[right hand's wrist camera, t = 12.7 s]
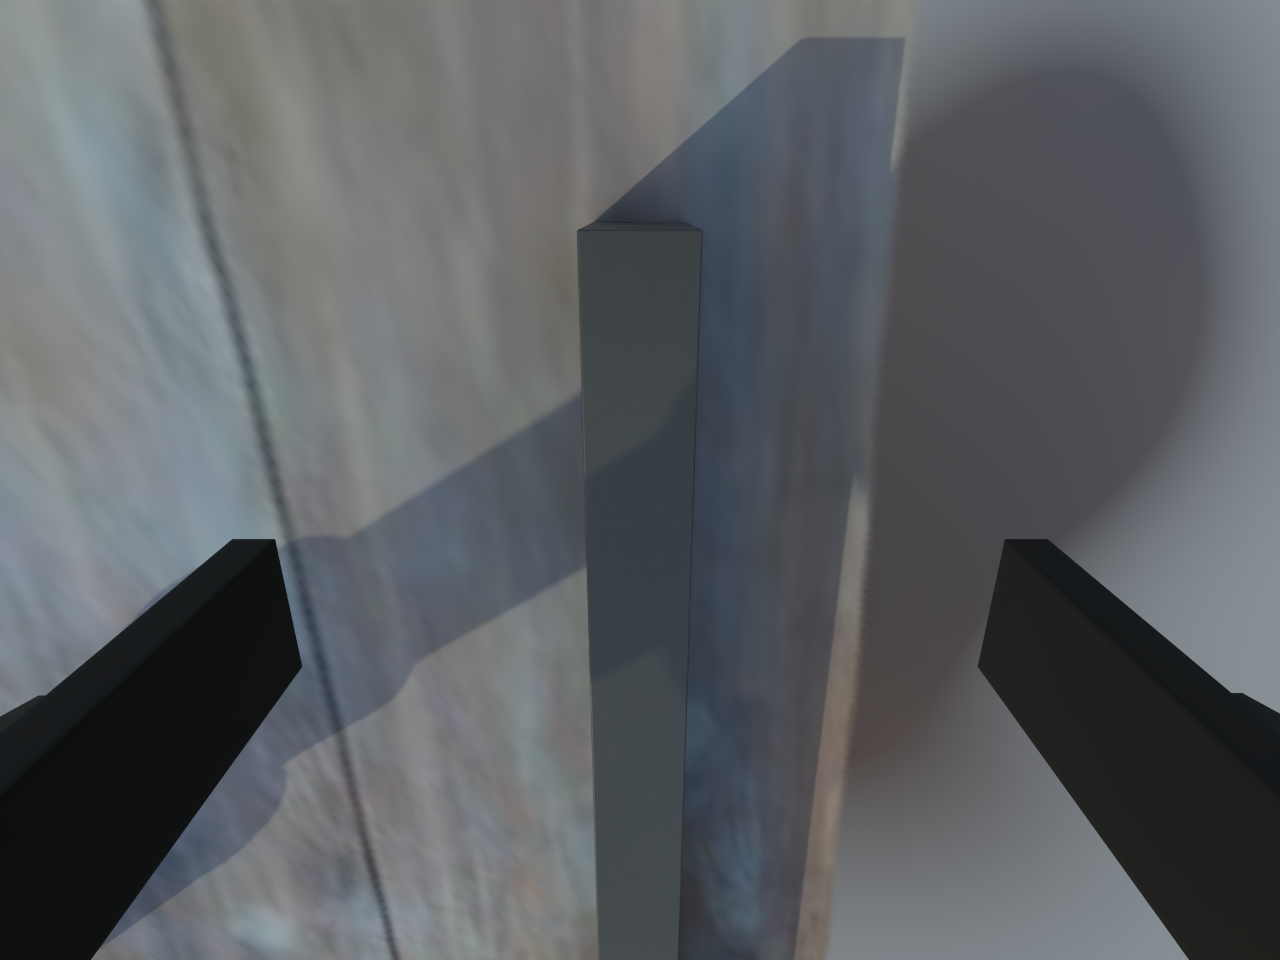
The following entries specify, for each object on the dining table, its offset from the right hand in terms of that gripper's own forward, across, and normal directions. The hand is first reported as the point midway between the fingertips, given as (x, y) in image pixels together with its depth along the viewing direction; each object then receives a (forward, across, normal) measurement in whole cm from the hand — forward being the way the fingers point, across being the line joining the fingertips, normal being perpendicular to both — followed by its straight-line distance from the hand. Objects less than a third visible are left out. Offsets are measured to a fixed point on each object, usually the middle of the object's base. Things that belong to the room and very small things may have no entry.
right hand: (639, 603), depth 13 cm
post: (+24, 0, -36) cm, 43 cm away
